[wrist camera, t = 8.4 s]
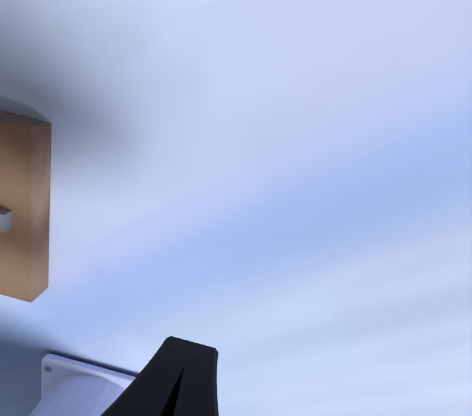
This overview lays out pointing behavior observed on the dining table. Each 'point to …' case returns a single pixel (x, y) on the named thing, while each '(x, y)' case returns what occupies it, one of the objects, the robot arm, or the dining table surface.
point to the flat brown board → (24, 206)
